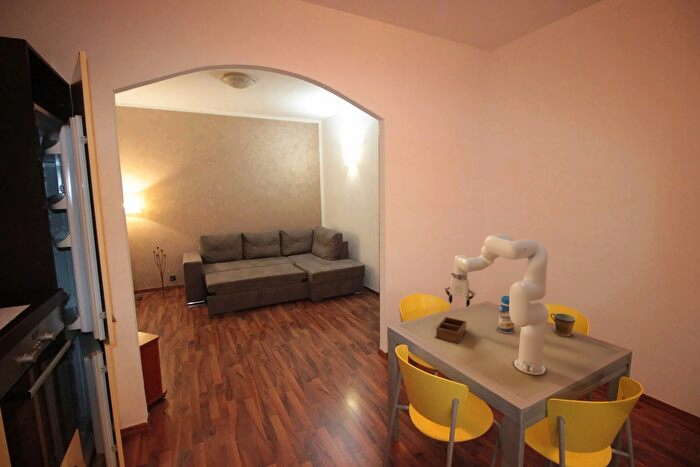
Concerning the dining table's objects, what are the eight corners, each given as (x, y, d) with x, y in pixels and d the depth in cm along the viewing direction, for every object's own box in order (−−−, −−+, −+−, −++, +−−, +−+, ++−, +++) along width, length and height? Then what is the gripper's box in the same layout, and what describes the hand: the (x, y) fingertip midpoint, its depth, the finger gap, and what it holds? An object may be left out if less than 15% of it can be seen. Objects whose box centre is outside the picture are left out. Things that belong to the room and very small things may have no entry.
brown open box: (458, 333, 170) (467, 319, 186) (436, 327, 177) (447, 314, 192) (458, 343, 171) (467, 328, 187) (436, 337, 178) (447, 323, 193)
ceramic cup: (577, 335, 178) (579, 318, 176) (565, 339, 174) (567, 321, 172) (555, 326, 190) (557, 310, 188) (543, 329, 186) (545, 313, 184)
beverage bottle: (514, 329, 186) (516, 296, 183) (513, 335, 179) (515, 301, 176) (498, 326, 191) (500, 294, 188) (497, 331, 183) (499, 298, 180)
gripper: (443, 275, 187) (442, 303, 189) (474, 280, 177) (472, 309, 180) (447, 272, 193) (446, 299, 195) (477, 277, 183) (475, 305, 186)
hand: (459, 304), depth 188 cm, fingers open, 9 cm apart
